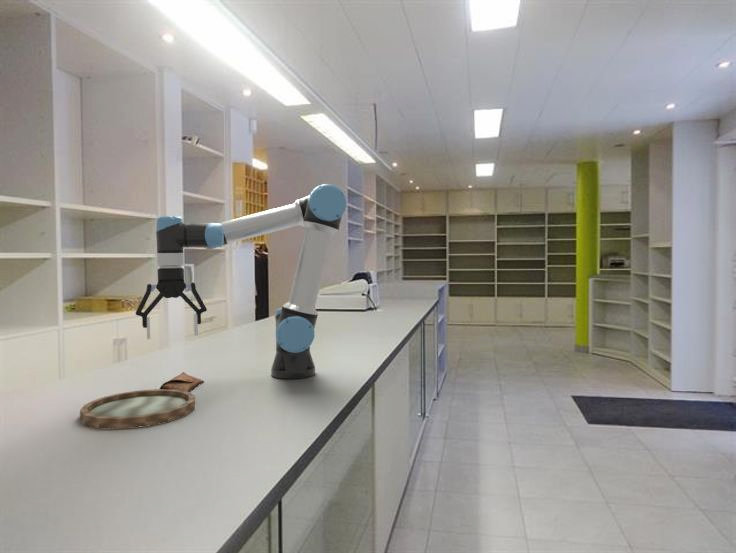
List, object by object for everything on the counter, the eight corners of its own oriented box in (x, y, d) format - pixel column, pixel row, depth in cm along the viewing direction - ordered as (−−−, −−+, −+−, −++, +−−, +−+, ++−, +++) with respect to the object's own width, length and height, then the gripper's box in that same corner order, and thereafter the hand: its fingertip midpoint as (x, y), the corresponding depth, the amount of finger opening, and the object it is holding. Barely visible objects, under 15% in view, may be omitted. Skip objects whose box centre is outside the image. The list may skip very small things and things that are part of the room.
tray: (196, 394, 150) (196, 386, 150) (193, 422, 124) (193, 412, 124) (94, 402, 142) (94, 393, 142) (68, 434, 116) (68, 423, 116)
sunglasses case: (187, 395, 149) (175, 376, 149) (167, 408, 149) (155, 388, 149) (206, 381, 167) (195, 363, 167) (187, 392, 167) (176, 375, 167)
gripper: (210, 266, 164) (212, 332, 165) (125, 268, 153) (127, 338, 153) (215, 266, 157) (216, 334, 158) (125, 268, 146) (127, 341, 147)
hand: (172, 336), depth 156 cm, fingers open, 13 cm apart
